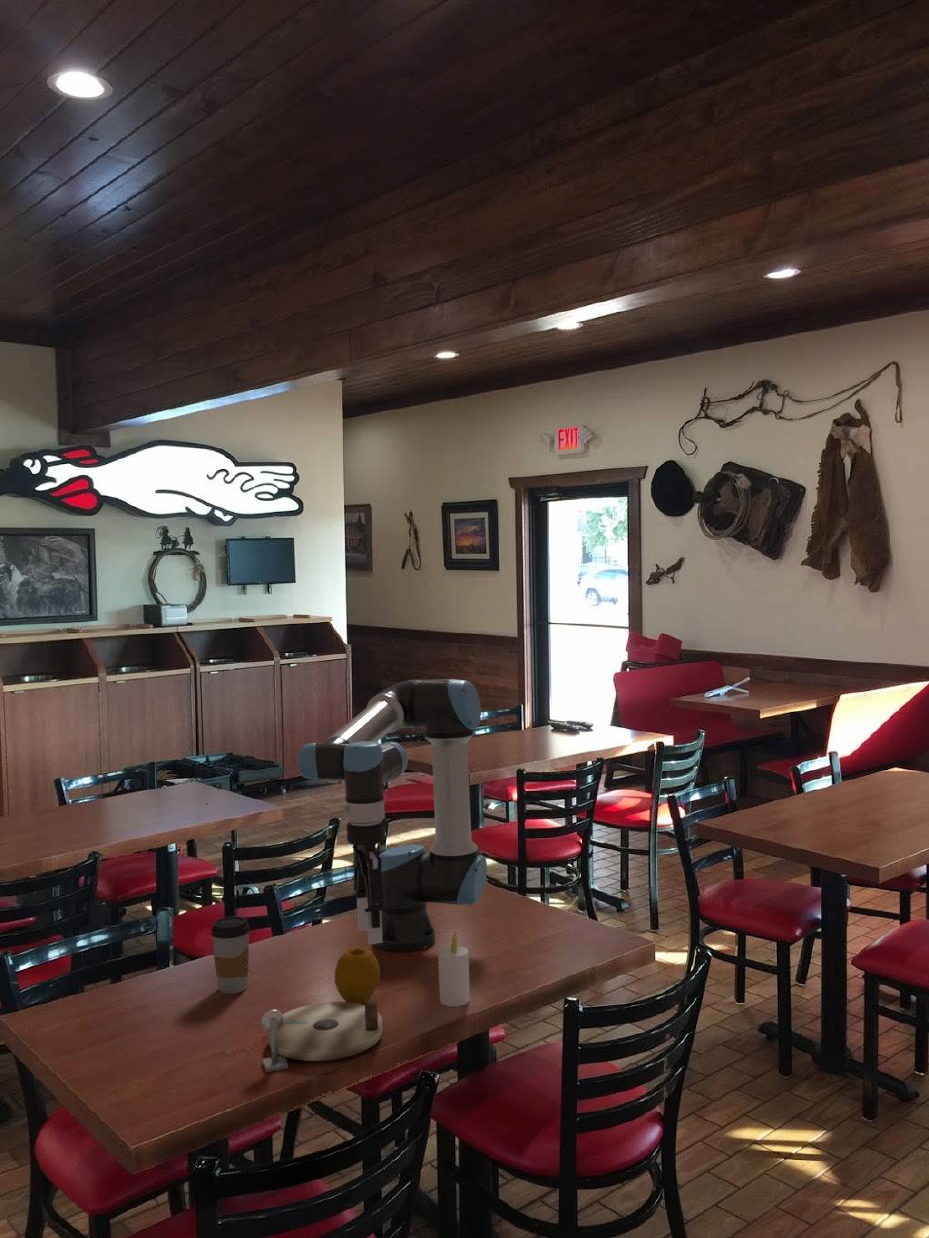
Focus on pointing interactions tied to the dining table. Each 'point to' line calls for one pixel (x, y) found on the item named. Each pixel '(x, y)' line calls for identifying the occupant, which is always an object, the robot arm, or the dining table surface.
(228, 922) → the coffee cup
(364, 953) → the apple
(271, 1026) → the indicator stand
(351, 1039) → the turntable
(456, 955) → the candle
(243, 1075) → the dining table surface
